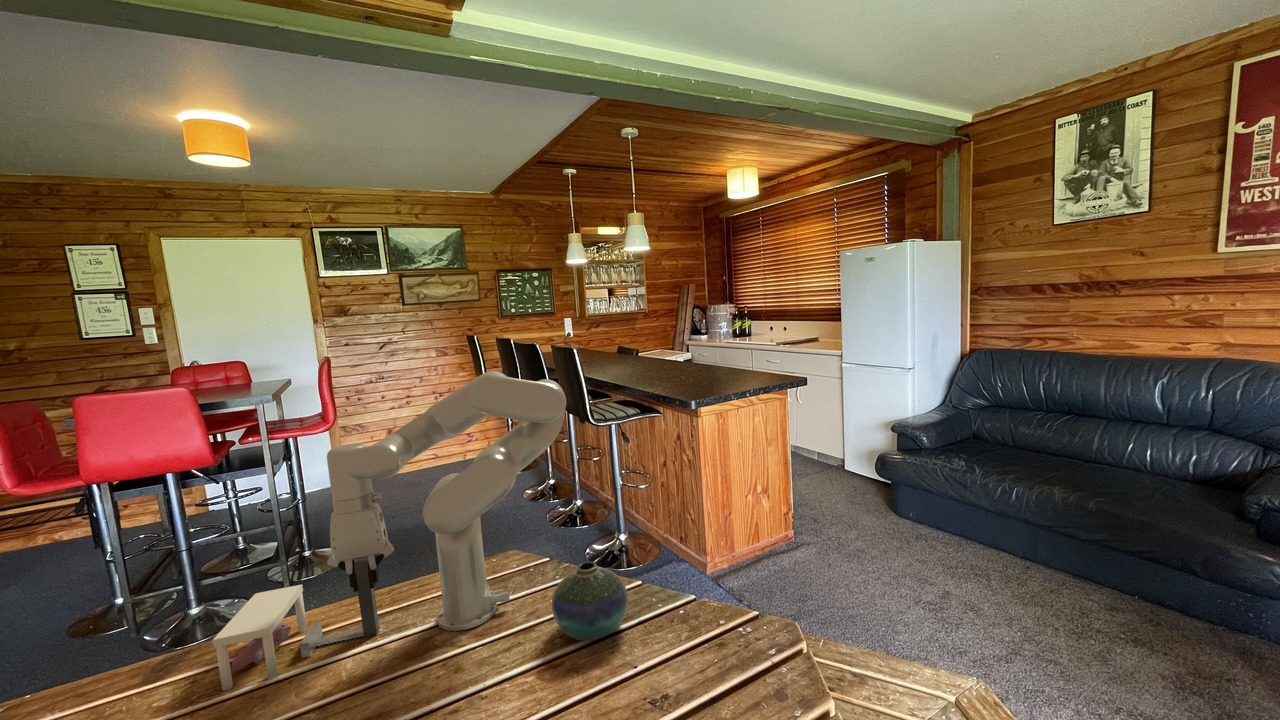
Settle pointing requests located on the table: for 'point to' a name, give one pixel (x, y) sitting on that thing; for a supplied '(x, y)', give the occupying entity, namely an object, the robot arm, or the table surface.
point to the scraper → (366, 609)
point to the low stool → (259, 627)
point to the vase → (589, 602)
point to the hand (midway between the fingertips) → (365, 586)
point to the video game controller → (259, 648)
